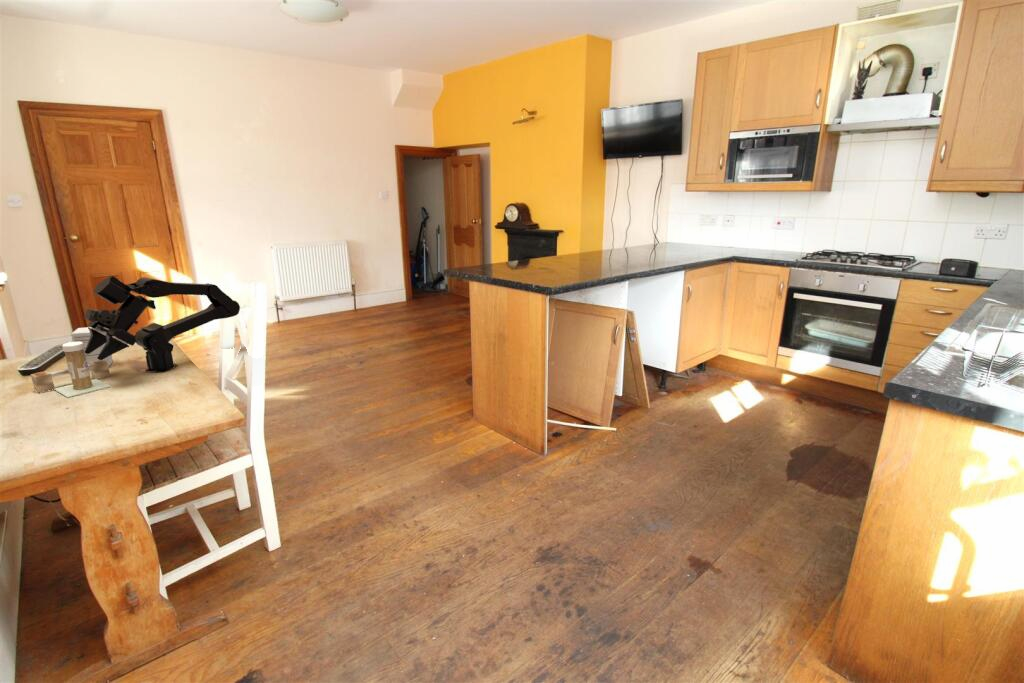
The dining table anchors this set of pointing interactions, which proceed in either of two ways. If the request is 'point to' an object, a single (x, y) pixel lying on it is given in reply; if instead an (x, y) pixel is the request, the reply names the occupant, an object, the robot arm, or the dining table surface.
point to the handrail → (45, 382)
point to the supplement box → (84, 337)
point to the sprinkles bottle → (77, 365)
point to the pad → (70, 392)
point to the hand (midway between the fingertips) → (92, 356)
